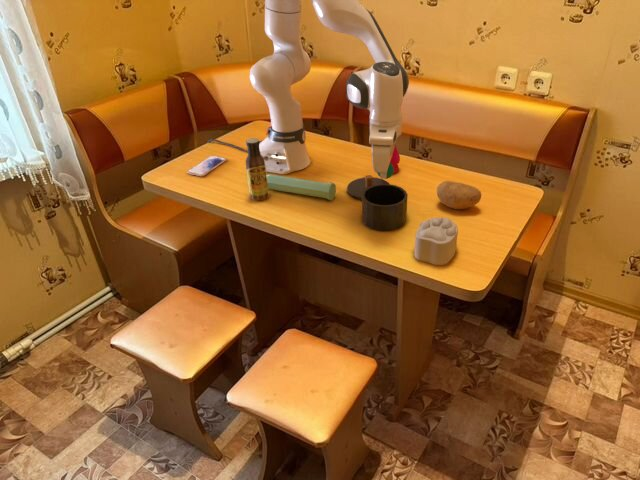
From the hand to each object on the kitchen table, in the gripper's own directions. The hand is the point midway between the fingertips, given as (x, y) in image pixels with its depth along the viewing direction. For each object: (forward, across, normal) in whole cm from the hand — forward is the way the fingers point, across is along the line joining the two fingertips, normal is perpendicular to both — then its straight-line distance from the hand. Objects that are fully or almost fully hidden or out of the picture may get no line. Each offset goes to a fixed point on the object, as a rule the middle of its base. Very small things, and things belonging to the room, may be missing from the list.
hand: (385, 172), depth 143 cm
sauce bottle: (+16, -7, -43) cm, 46 cm away
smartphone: (+15, -25, -70) cm, 76 cm away
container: (+16, -12, -31) cm, 37 cm away
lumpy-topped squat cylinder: (+16, +14, +17) cm, 27 cm away
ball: (+2, 0, 0) cm, 2 cm away
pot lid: (+15, -17, -8) cm, 24 cm away
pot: (+16, 0, 0) cm, 16 cm away
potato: (+16, -11, +22) cm, 29 cm away
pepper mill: (+16, -33, -3) cm, 37 cm away
